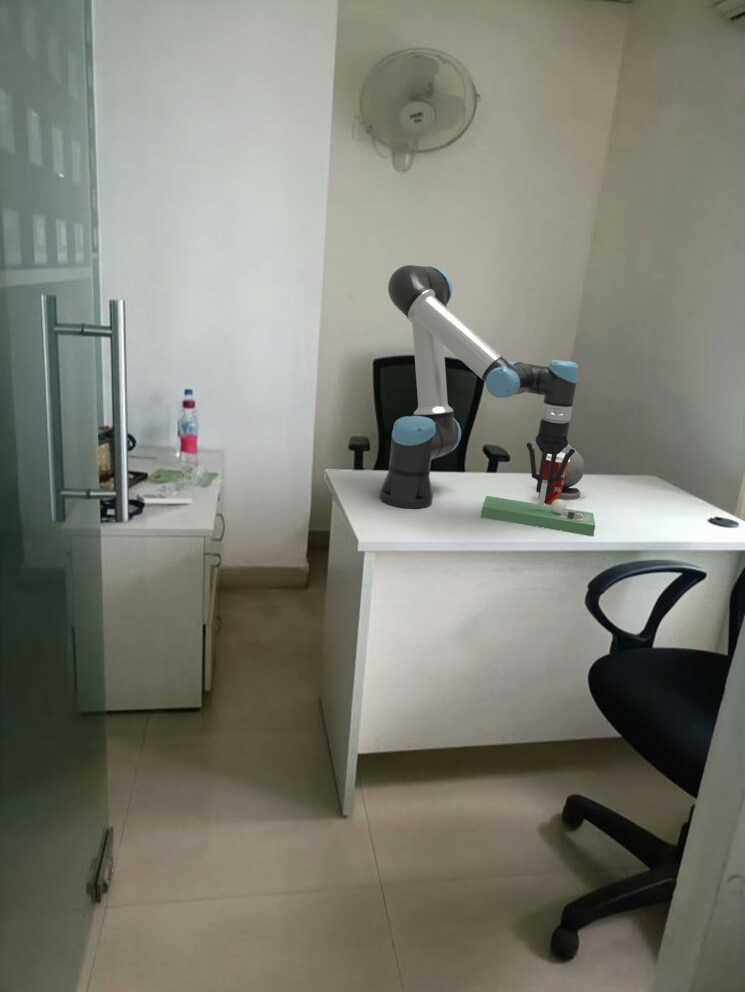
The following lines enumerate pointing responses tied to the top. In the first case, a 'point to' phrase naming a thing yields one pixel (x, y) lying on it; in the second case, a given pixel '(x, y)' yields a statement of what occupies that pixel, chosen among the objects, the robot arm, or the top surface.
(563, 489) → the webcam
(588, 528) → the putting strip
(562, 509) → the ball
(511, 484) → the top surface
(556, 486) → the coffee cup
